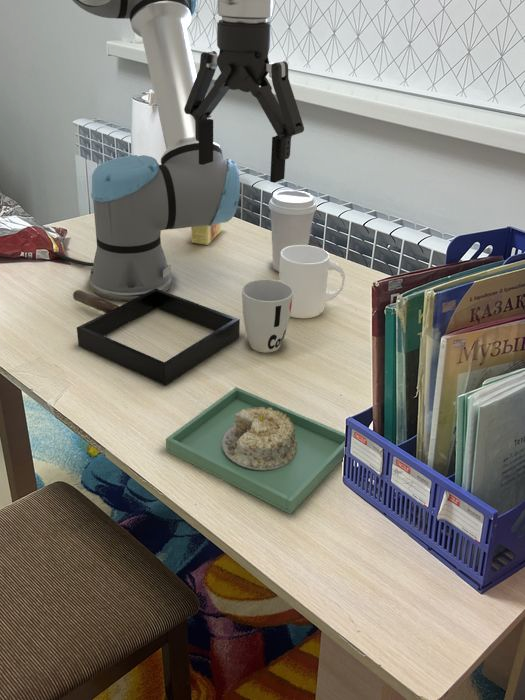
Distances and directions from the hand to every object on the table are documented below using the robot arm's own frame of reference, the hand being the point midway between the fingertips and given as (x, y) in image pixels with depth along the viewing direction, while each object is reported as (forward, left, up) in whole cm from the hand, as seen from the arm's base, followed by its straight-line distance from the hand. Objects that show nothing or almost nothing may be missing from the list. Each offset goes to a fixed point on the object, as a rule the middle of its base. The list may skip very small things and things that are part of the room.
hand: (240, 171), depth 107 cm
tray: (+23, -26, -27) cm, 44 cm away
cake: (+23, -26, -26) cm, 43 cm away
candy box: (-29, +28, -27) cm, 48 cm away
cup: (+8, -3, -27) cm, 28 cm away
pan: (-11, -13, -27) cm, 32 cm away
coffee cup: (-6, +26, -27) cm, 38 cm away
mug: (+7, +13, -27) cm, 31 cm away
